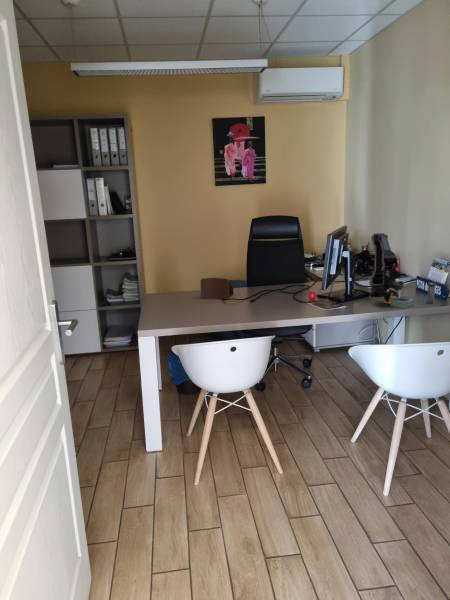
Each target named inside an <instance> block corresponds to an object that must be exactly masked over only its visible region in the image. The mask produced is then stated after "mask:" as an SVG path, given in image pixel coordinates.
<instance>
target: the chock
mask: <svg viewBox="0 0 450 600" xmlns="http://www.w3.org/2000/svg"><path fill="white" fill-rule="evenodd" d="M395 298H397V297H396V296H390V298H389V301H388V302H386V301H385V300H384V303H385V304H390V305H391V299H395Z"/></svg>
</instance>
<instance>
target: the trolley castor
mask: <svg viewBox="0 0 450 600" xmlns="http://www.w3.org/2000/svg"><path fill="white" fill-rule="evenodd" d="M393 290H395V289H393ZM391 296H396V297H397V298H398V297H402V291H401V290H398V291H396V290H395V291H394V292H393V293H392V294H391Z"/></svg>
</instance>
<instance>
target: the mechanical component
mask: <svg viewBox="0 0 450 600" xmlns="http://www.w3.org/2000/svg"><path fill="white" fill-rule="evenodd" d="M409 286H410V282H406V283H405V284H403V287H402V288H401V292H403V289H405V290H406V289H409Z"/></svg>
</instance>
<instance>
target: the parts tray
mask: <svg viewBox="0 0 450 600" xmlns="http://www.w3.org/2000/svg"><path fill="white" fill-rule="evenodd" d="M414 300H415V299H413V298H407V297H402V296H401V297H398V298H395V299H391V304H390V307H394V308H399V309H404V310H405V309H408V308H411V307H414Z"/></svg>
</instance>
